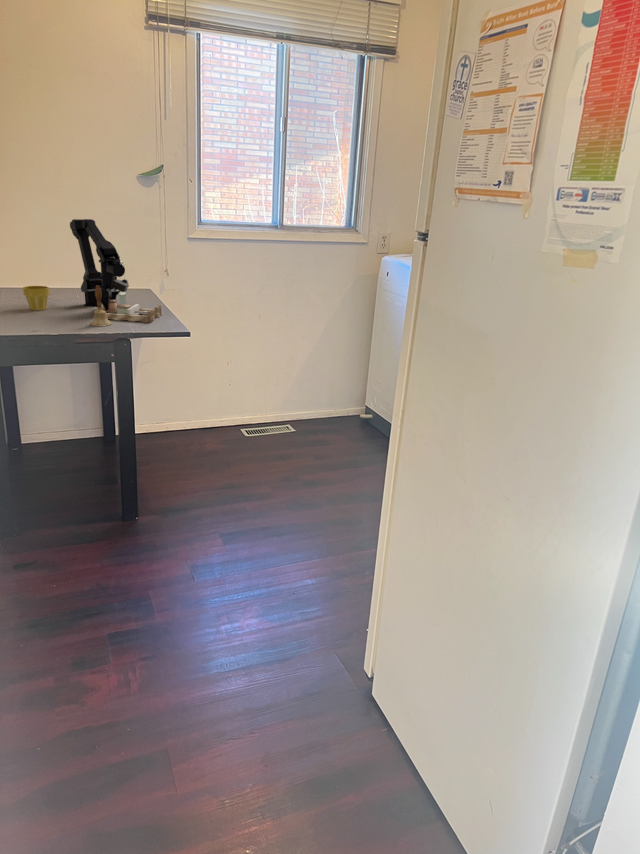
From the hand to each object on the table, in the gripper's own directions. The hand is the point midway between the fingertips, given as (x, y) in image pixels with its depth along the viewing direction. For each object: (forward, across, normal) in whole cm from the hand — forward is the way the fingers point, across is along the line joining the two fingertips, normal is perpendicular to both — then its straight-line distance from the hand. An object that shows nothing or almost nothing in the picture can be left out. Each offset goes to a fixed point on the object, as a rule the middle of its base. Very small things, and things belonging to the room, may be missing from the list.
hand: (110, 308), depth 282 cm
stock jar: (+1, -10, -10) cm, 14 cm away
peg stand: (+1, -10, -17) cm, 20 cm away
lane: (+1, -10, -14) cm, 17 cm away
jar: (+1, 0, 0) cm, 1 cm away
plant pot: (+1, -7, +30) cm, 31 cm away
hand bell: (+1, -28, -6) cm, 29 cm away
